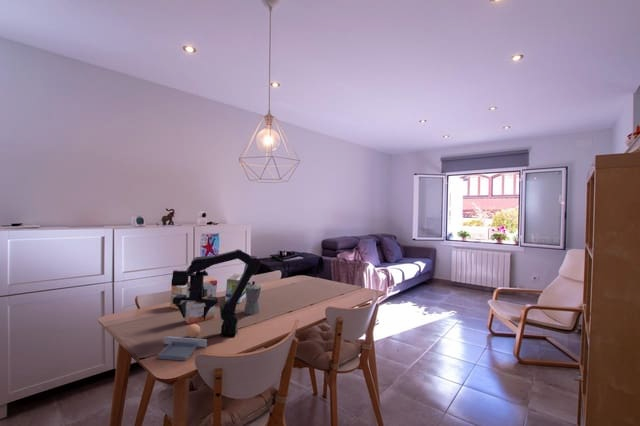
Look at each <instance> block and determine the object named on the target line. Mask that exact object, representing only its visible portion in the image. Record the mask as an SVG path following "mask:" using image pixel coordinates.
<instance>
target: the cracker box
mask: <svg viewBox="0 0 640 426" xmlns="http://www.w3.org/2000/svg"><path fill="white" fill-rule="evenodd" d="M186 286H187V292H186V296H187V297H189V291H188V289H189V288H190V280H188V283H187V284H186ZM203 286H204V289H207V296H205V297H202V298H203V299H207V298H208V297H209V296H210V297H217V288H218V280H217V279H215V278H213V277H212V278H211V277H209V278H204V280H203ZM199 301H200V300H199ZM205 306H206V305H205V303H197V302H187V303H186V317H185V318H183V320H184V322H186V323H187V324H188V325H191V324H196V323H198V322H203V321H208V320H211V319H215V314H216V313H215V311H216V310H215V309H216V305H215V306H213V307H211V308H210V309H209V311H208V314H207V316H206V319H205V320H204V319H203V315H204V307H205Z"/></svg>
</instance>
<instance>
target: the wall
mask: <svg viewBox="0 0 640 426" xmlns="http://www.w3.org/2000/svg"><path fill="white" fill-rule="evenodd" d="M171 342H182V343H195V344H197V348H198V347H203V348H206V347H207V342H208V339H206V338H196V337H195V338H190V337H183V336H182V337H181V336H169V335H168V336H166V335H165V336H164V345H169V344H170V343H171Z"/></svg>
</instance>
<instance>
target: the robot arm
mask: <svg viewBox="0 0 640 426" xmlns="http://www.w3.org/2000/svg"><path fill="white" fill-rule="evenodd" d="M235 260H239V261H241V262H243V263H245V265H244V269H243V272H242V274H241V275H242V276H241V278H240V280H239V282H238V283H237V285H236V287H235V289H234V291H233V293H232V294H231V296H230V298H229V299H228V300H227V301H225V299H223V301H222V303H221V305H220V306H219V314H220V318H221V319H222V324H221V330H220V337H228V338H235V337H236V335H237V334H238V332H239V331H238V322H239V319H238V316H237V314H236V309H237V304H238V303H237V302H238V300H239V298H240V296H241V295H242V293H243V291H244V289H245V287H246V285H247V283H248V282H249V281H250V280H251V277H252V276H254V274H255V273H257V271H258V270H259V269H260V267H261V265H262V263H261V260H260V259H259V258H258V257H257V256H256V255H250V254H249V253H246V252H245V251H243V250H242V249H238V248H236V249H235V250H232V251H227V252H223V253H218V254H215V255H211V256H210V255H209V256H208V255H207V256H205V255H204V256H203V255H202V256H195V257H193V258H192V259H191V261H190V265H189V266H188V267H187V268H186V269H185V270H176V269H175V270H173V271H172V278H171V287H172V286H185V285H186V286H187V283H188V281H190V288H189V289H188V291H189V297H187V296H186V295H182V294H179V295H177V296H175V297H174V298H173V301H172V304H175V306H177V307H178V308H179V309H178V310H179V312H180V314H181V316H182V318H183V319H184V318H185V317H186V303H187V302H197V303H205V305H206V306H205V307H204V315H203V319H204V321H206V320H205V319H206V316H207V314H208V311H209V309H210V308H211V307H213V306H215V307H216V305H217V304H218V302H219V299H218V297H217V296H216V297H210V296H209V297H208V298H207V299H203V298H202V297H205V296H207V289H204V286H203V280H204V279H205V278H204V277H208V276H209V272H208V271H206V270H207V269H209V268H210V267H213V266H214V265H219V264H222V263H226V262H231V261H235ZM199 300H200V301H199Z"/></svg>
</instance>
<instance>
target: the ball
mask: <svg viewBox="0 0 640 426" xmlns="http://www.w3.org/2000/svg"><path fill="white" fill-rule="evenodd" d="M185 331H186V332H185V333H186V337H187V338H195V339H196V338H197V337H198V336H199V335H200V334H201V327H200V326H199V325H198V324H197V323H191V324H189V325H188V327H187V328H186V330H185Z"/></svg>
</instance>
